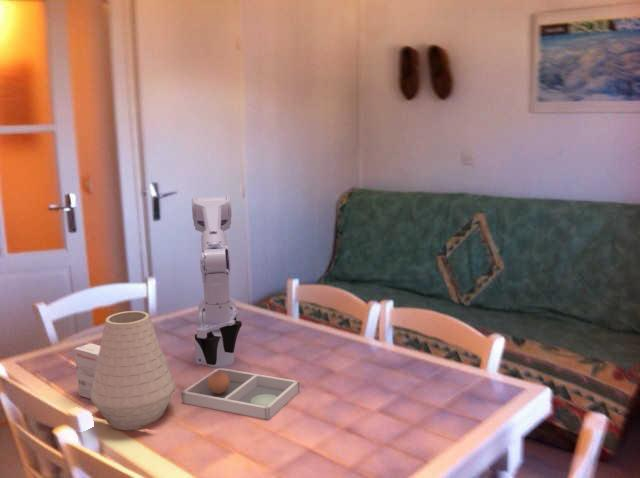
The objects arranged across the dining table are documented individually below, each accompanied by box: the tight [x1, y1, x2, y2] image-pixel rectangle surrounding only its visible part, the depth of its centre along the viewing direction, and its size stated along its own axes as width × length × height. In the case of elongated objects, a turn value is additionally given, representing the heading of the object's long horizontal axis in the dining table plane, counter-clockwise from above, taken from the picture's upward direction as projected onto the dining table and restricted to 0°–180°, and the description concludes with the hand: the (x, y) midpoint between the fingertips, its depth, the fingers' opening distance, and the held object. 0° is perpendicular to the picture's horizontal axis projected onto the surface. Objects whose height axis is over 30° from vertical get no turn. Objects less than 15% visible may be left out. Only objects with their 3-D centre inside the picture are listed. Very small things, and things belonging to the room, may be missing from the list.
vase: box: [90, 310, 176, 432], centre depth 139 cm, size 17×17×23 cm
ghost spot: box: [250, 394, 277, 406], centre depth 146 cm, size 6×6×1 cm
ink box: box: [73, 342, 100, 400], centre depth 152 cm, size 9×5×12 cm, turn 58°
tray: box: [181, 367, 300, 421], centre depth 148 cm, size 22×15×4 cm
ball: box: [208, 372, 230, 394], centre depth 150 cm, size 5×5×5 cm
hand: (220, 358), depth 149 cm, fingers open, 7 cm apart
